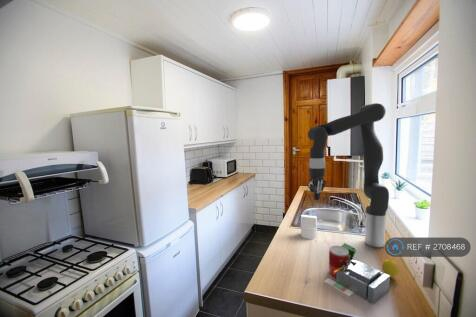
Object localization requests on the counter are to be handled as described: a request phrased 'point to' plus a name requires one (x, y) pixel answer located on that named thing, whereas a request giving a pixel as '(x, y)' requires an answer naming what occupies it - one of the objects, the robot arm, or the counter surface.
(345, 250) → the canned food
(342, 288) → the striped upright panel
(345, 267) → the plunger
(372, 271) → the box
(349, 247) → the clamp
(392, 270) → the lemon
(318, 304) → the counter surface
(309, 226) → the white container
